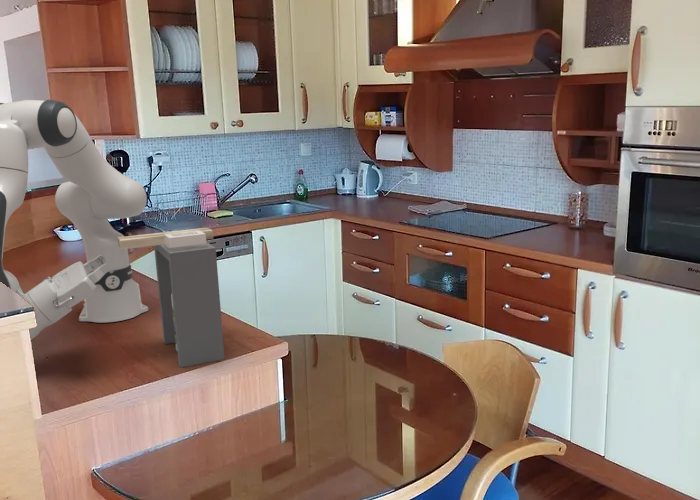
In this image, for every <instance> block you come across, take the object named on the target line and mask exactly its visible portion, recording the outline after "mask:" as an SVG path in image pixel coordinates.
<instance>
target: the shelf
mask: <svg viewBox="0 0 700 500" xmlns="http://www.w3.org/2000/svg"><path fill="white" fill-rule="evenodd" d="M206 244H207V247H204V248H196V249H188V250H179V251H171V252H170V251H169V250H168V249H167V248H165V244H164V245H155V246H153V248H154V259H155V266H156V267H155V268H156V277H157V288H158V298H159V307H160V308H159V309H160V317H161V319H160V321H161V329H162V338H163V340H162V341H163V343H164V345H167V344H168V345H169V344H175V335H174V323H173V311H172V299H173V309H174V320H175V330H176V340H177V351H176V352H177V360H178V361H177V362H178V366H179V367H180V368H186V367H192V366H197V365H202V364H206V363H212V362H216V361H222V360H226V357H225V347H224V334H223V323H222V322H223V321H222V310H221V299H220V298H221V297H220V295H221V294H220V286H219V285H220V284H219V273H218V270H219V269H218V259H217V249H216V247H215V246H214V245H212V244H211V243H209V242H207V241H206ZM171 294H172V299H171Z"/></svg>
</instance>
